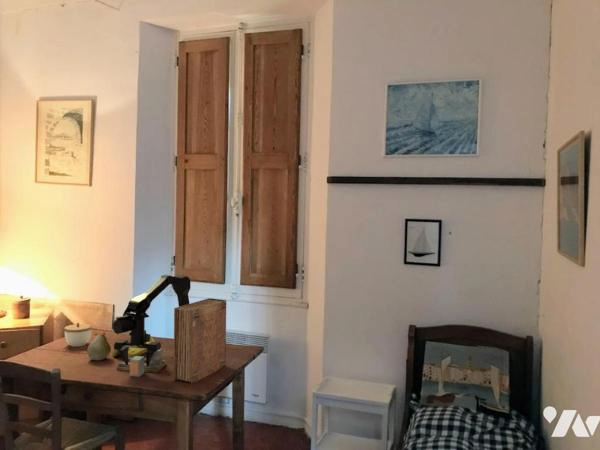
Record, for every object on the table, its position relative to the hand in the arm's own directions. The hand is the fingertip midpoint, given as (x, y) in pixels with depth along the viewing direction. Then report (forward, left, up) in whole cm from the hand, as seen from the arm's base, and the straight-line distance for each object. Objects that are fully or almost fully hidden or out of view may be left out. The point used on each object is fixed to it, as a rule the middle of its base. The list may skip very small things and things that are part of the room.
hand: (137, 365), depth 223 cm
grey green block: (0, 0, -4) cm, 4 cm away
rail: (+2, -9, -4) cm, 10 cm away
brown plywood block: (-25, -7, -4) cm, 27 cm away
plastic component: (+14, -28, -4) cm, 32 cm away
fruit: (+26, -16, -4) cm, 31 cm away
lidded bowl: (+48, -36, -4) cm, 60 cm away
